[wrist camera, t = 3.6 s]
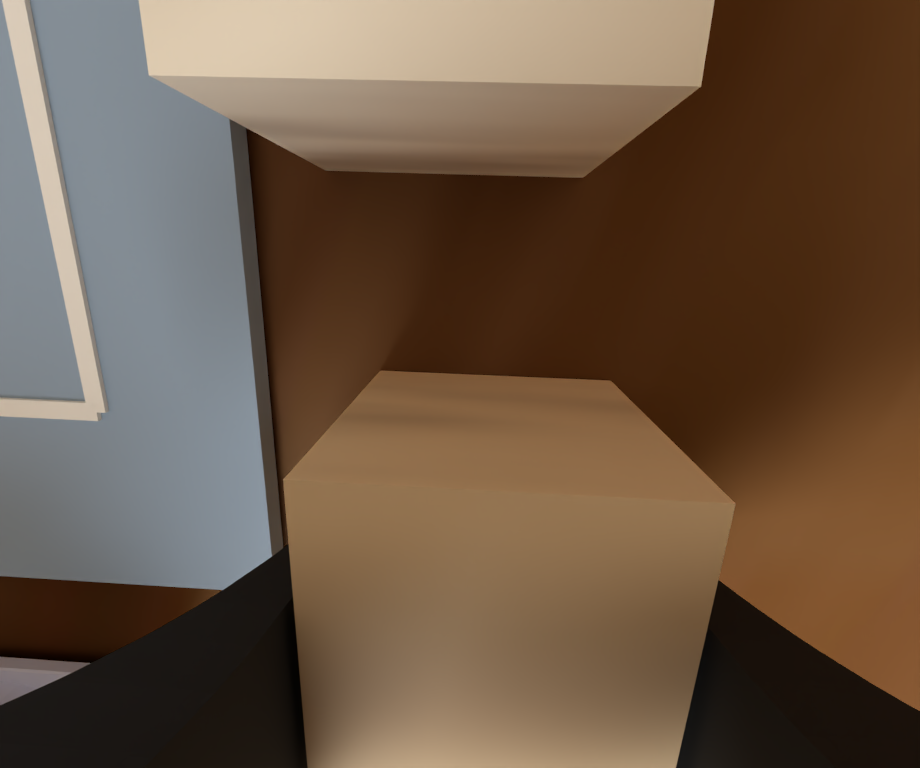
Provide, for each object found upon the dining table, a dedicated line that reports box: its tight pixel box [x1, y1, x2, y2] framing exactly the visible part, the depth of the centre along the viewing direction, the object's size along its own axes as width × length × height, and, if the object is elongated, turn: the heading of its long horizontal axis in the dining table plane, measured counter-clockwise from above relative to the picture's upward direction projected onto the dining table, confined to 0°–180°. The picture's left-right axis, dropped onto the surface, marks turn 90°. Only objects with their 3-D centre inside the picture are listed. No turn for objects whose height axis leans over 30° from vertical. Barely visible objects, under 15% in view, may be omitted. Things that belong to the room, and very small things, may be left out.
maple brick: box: [283, 371, 735, 768], centre depth 8 cm, size 7×5×5 cm
